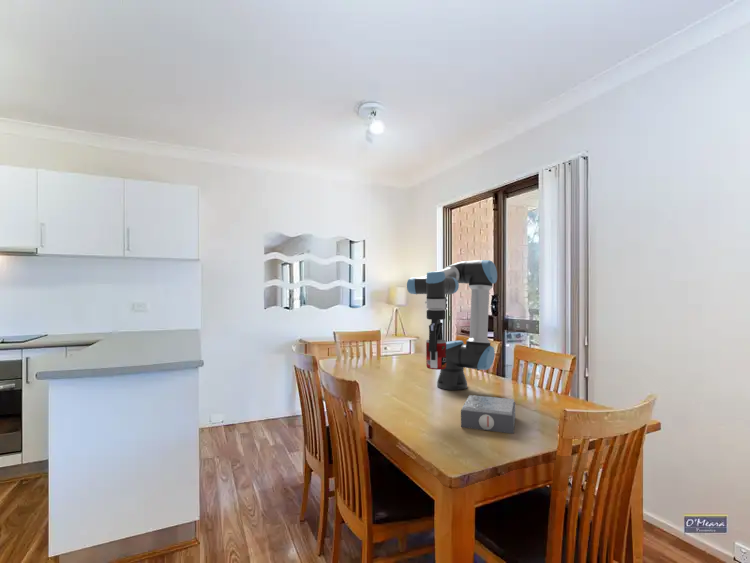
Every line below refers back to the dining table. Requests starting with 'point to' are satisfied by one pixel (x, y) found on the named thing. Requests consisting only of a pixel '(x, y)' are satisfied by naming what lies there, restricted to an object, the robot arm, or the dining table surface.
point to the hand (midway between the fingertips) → (436, 365)
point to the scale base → (488, 421)
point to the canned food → (440, 354)
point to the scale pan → (489, 405)
